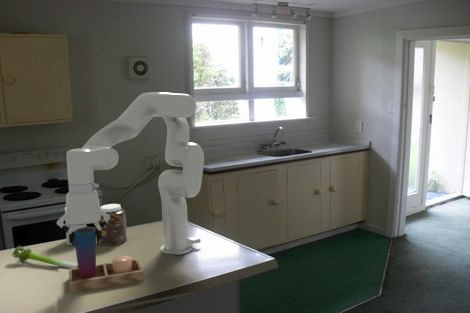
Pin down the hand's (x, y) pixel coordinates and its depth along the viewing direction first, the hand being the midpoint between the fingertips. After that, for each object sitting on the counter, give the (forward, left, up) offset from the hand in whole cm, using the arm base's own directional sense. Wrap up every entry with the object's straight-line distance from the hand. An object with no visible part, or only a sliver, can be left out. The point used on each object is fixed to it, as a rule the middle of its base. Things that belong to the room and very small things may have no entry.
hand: (85, 242), depth 138 cm
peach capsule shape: (-11, 0, -13) cm, 17 cm away
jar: (-11, -42, -14) cm, 45 cm away
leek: (+13, -25, -15) cm, 32 cm away
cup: (0, 0, -11) cm, 11 cm away
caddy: (-5, 0, -14) cm, 15 cm away
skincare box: (+3, -48, -14) cm, 50 cm away
